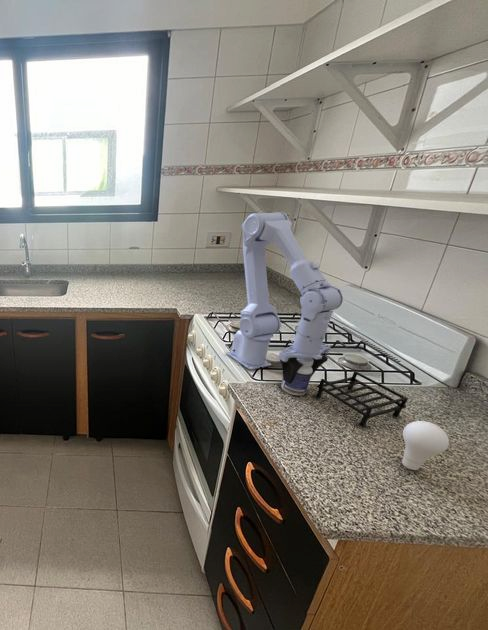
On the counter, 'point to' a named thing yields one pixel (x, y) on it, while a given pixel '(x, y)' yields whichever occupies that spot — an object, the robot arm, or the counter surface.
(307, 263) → the robot arm
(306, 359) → the pill bottle
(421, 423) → the lightbulb
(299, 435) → the counter surface
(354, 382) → the wire rack
